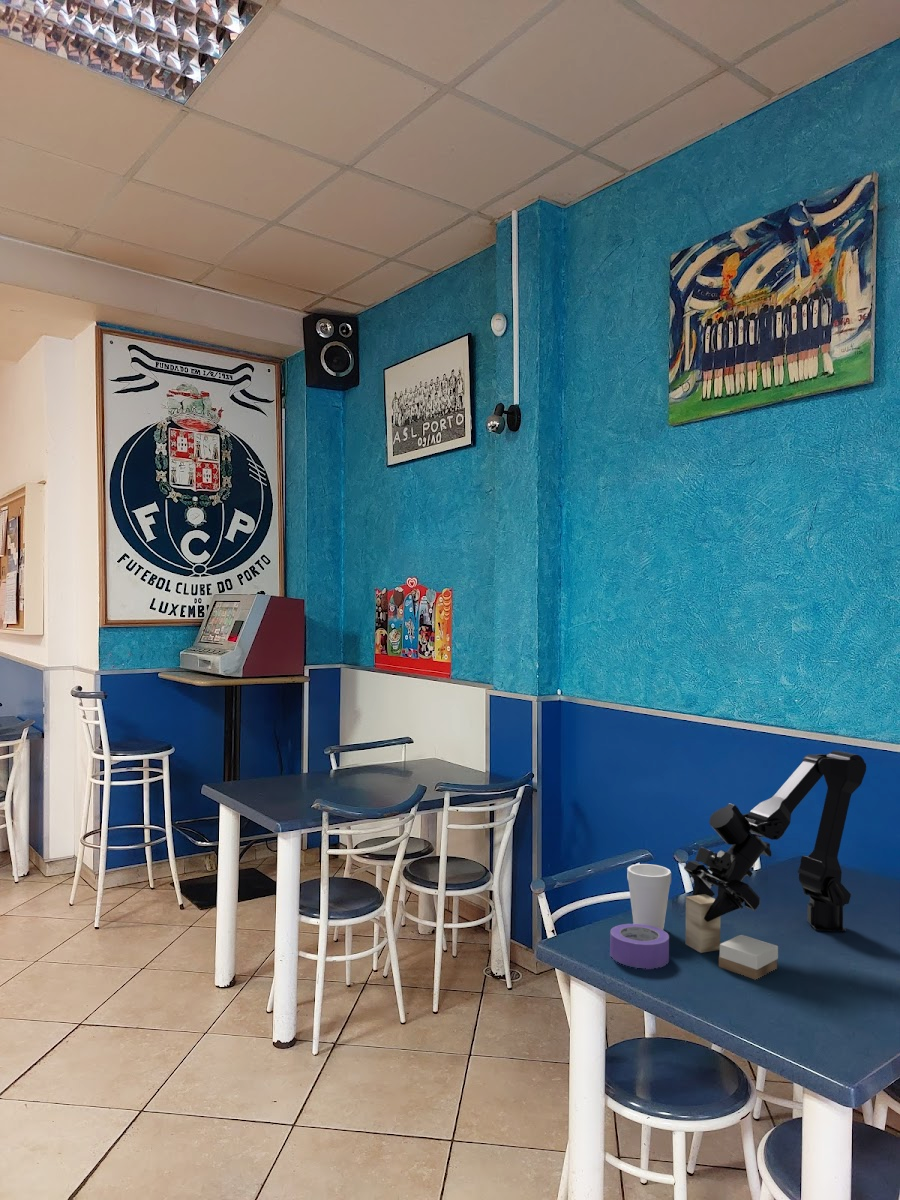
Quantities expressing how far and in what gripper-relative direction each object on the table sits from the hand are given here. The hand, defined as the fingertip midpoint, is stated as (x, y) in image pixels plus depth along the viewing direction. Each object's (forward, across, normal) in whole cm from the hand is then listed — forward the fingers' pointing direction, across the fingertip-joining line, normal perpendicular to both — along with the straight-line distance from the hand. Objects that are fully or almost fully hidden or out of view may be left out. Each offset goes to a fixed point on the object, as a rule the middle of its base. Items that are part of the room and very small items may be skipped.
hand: (697, 916), depth 181 cm
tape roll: (+15, 0, -5) cm, 16 cm away
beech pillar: (+4, 0, +6) cm, 7 cm away
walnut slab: (+3, +12, +7) cm, 14 cm away
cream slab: (+1, +12, +5) cm, 13 cm away
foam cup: (+7, -12, +2) cm, 15 cm away
